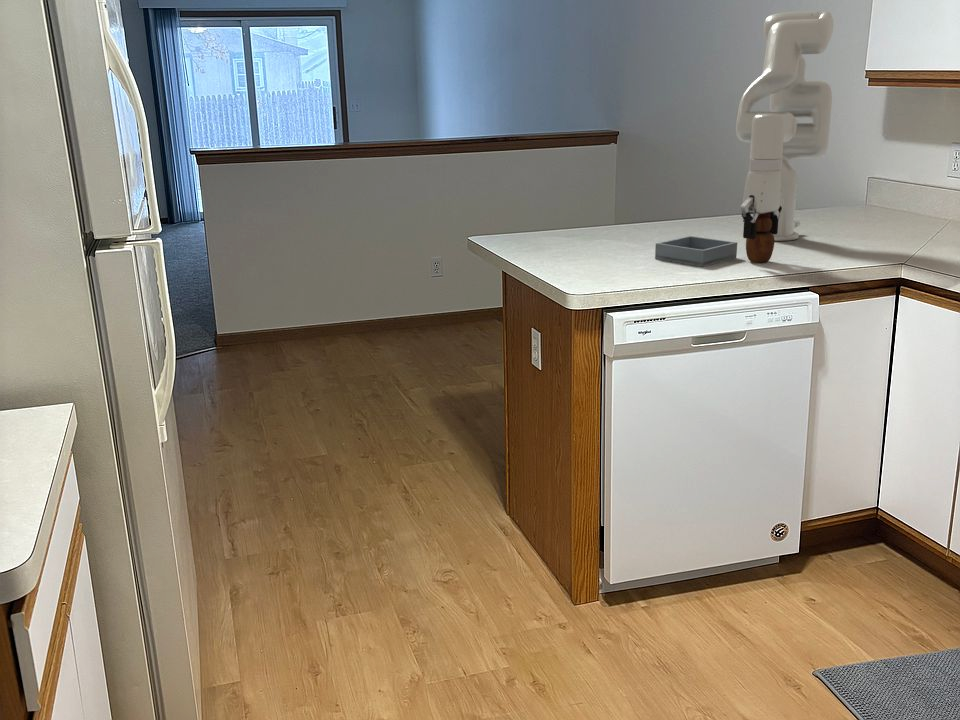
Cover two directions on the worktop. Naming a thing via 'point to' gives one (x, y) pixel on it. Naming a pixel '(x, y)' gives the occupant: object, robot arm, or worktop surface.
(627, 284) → the worktop surface
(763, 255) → the wooden figurine
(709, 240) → the slate tray
